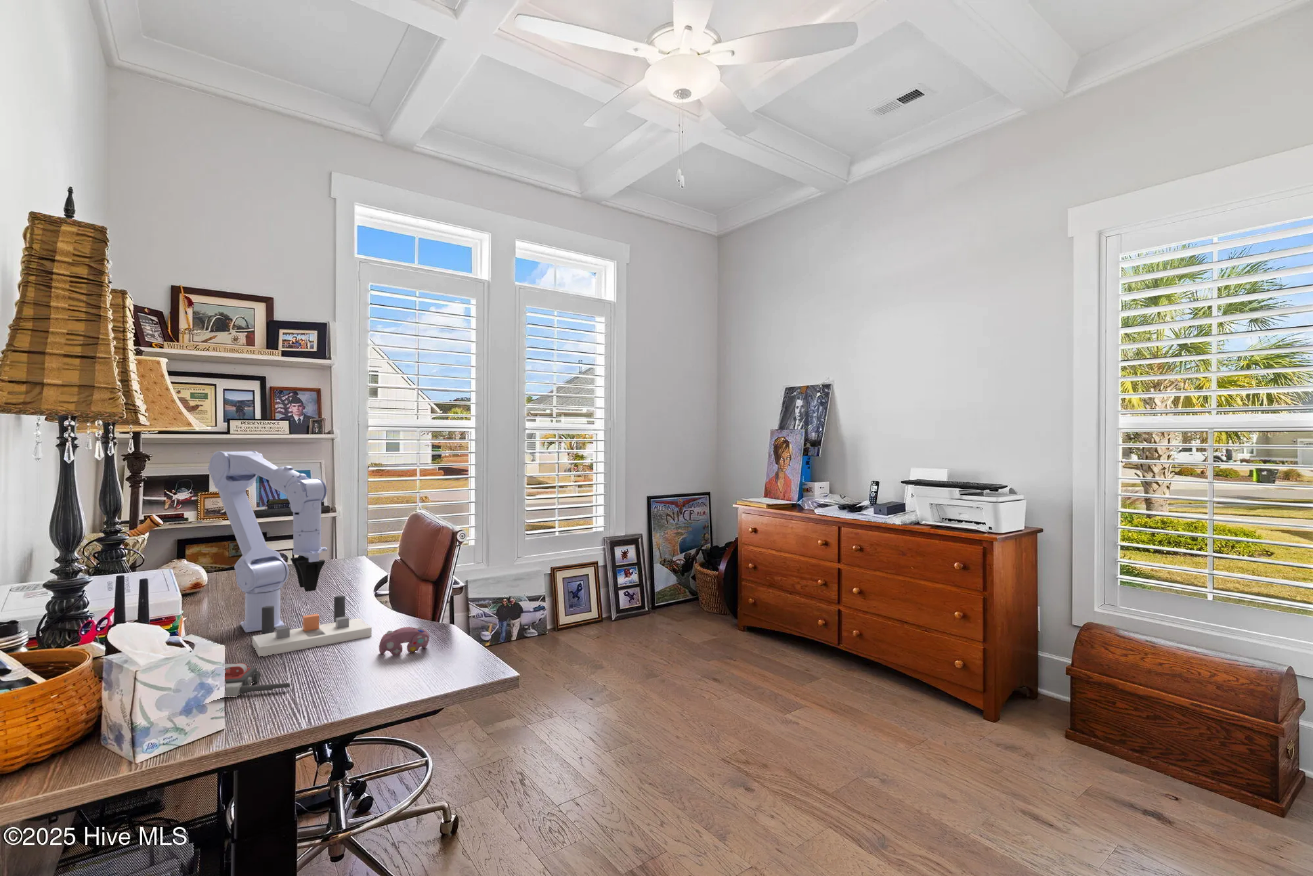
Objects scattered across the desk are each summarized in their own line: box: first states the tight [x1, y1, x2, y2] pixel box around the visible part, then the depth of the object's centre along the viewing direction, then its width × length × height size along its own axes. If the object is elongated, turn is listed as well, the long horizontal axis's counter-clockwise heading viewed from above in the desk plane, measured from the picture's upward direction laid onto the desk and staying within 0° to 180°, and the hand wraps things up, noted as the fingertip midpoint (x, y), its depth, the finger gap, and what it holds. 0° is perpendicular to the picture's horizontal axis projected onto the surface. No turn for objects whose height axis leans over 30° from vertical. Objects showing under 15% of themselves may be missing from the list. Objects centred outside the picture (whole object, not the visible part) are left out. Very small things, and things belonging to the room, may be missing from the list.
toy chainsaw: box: [224, 662, 291, 696], centre depth 114 cm, size 9×4×20 cm
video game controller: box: [378, 626, 430, 656], centre depth 133 cm, size 10×5×7 cm, turn 118°
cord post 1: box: [261, 606, 275, 635], centre depth 144 cm, size 2×2×7 cm
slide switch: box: [302, 613, 320, 631], centre depth 143 cm, size 2×3×3 cm, turn 130°
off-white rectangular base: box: [251, 615, 373, 658], centre depth 141 cm, size 10×22×4 cm, turn 130°
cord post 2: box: [333, 595, 346, 623], centre depth 153 cm, size 2×2×7 cm
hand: (307, 588), depth 147 cm, fingers open, 5 cm apart
